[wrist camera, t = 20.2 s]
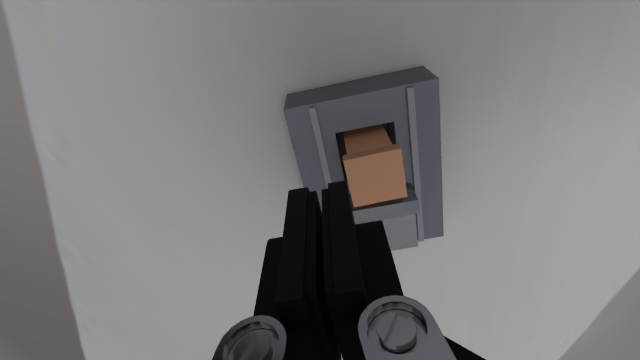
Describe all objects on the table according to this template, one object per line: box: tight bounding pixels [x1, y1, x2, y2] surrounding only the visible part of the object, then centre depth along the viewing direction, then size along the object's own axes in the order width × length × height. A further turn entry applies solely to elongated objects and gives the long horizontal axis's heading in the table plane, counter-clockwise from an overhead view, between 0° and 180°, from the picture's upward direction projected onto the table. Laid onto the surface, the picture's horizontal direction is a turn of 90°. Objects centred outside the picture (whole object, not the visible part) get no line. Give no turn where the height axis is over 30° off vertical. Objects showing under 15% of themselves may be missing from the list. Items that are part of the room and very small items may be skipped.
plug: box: [342, 124, 408, 207], centre depth 33 cm, size 5×5×10 cm
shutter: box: [350, 184, 420, 251], centre depth 36 cm, size 8×8×3 cm
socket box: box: [284, 66, 443, 242], centre depth 37 cm, size 14×18×6 cm
